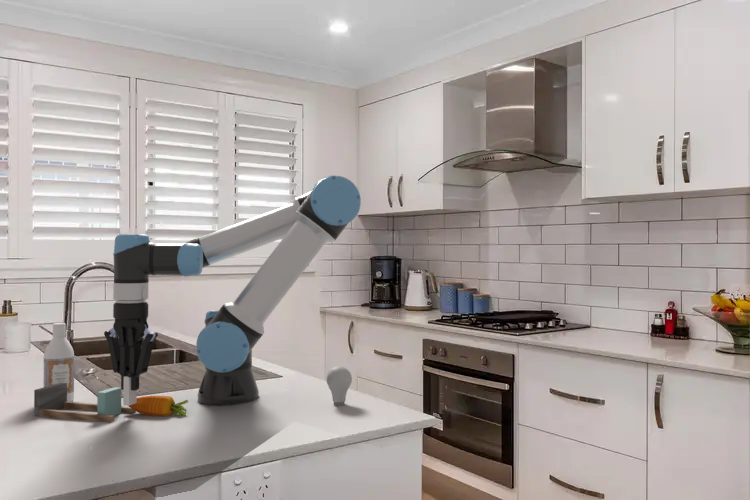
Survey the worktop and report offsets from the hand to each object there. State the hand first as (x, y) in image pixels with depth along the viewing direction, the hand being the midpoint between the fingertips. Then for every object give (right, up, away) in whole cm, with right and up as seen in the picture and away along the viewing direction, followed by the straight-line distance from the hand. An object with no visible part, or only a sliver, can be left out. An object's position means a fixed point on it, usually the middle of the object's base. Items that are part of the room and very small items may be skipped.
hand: (129, 404), depth 145 cm
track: (-11, -3, +3) cm, 12 cm away
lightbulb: (+48, -4, +8) cm, 48 cm away
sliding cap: (-5, -3, +2) cm, 7 cm away
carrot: (-2, -1, +4) cm, 4 cm away
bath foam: (-24, -4, +16) cm, 29 cm away
